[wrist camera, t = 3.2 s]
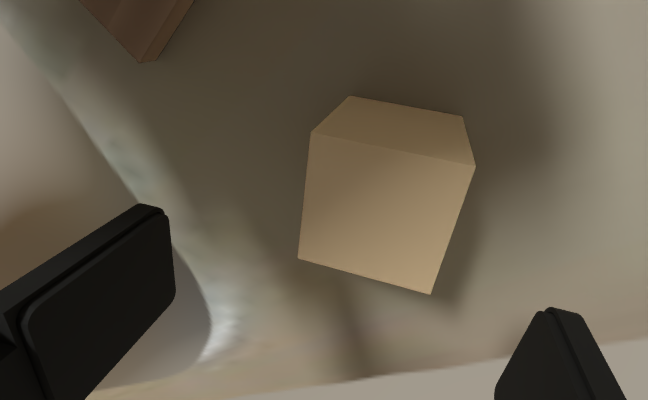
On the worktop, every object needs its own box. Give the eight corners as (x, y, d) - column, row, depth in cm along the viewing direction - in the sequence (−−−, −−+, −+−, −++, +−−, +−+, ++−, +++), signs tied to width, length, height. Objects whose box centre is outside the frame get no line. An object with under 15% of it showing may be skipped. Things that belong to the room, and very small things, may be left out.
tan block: (462, 115, 15) (475, 166, 10) (431, 214, 18) (430, 294, 13) (349, 95, 16) (310, 132, 11) (335, 191, 19) (297, 258, 14)
